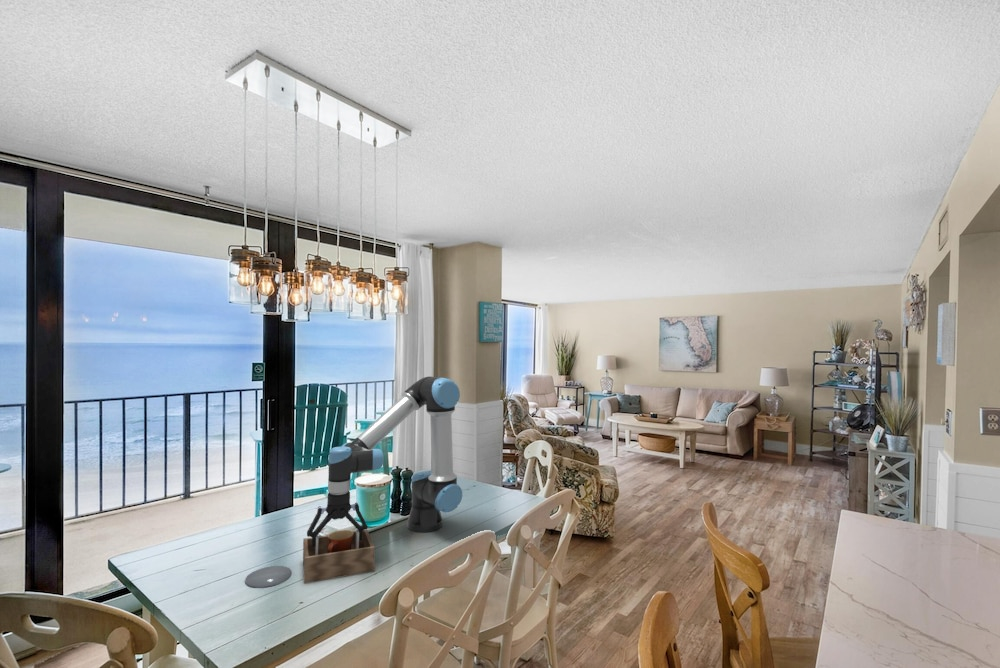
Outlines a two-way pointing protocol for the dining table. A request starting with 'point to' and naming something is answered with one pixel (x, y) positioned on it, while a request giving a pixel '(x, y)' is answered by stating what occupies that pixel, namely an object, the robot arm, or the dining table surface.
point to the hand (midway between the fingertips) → (337, 552)
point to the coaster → (268, 576)
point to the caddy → (337, 559)
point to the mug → (340, 541)
